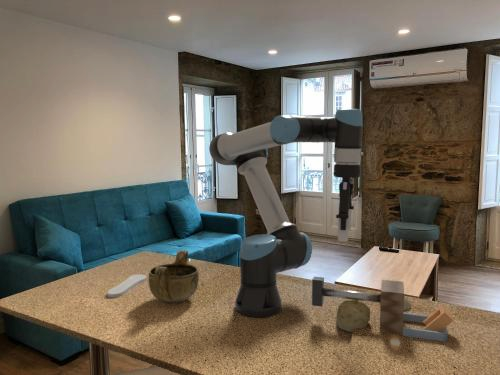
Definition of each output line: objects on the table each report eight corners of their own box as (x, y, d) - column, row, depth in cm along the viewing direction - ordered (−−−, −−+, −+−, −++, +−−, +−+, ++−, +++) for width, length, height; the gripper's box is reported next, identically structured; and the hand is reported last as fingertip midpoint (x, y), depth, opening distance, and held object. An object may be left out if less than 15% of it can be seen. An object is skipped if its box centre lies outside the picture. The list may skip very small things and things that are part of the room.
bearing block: (379, 336, 113) (380, 291, 111) (380, 321, 122) (381, 279, 121) (402, 339, 111) (404, 293, 109) (401, 324, 120) (403, 281, 119)
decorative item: (341, 343, 115) (364, 326, 110) (323, 312, 121) (344, 294, 115) (361, 336, 122) (383, 319, 116) (343, 307, 127) (363, 290, 121)
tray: (402, 340, 110) (403, 328, 110) (401, 323, 121) (402, 312, 120) (447, 346, 107) (447, 334, 106) (442, 329, 117) (443, 317, 117)
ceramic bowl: (164, 287, 152) (163, 248, 151) (207, 290, 149) (207, 250, 147) (136, 311, 130) (134, 266, 129) (186, 315, 127) (185, 269, 126)
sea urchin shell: (415, 310, 126) (397, 291, 126) (396, 326, 127) (377, 307, 128) (410, 299, 135) (393, 281, 135) (392, 314, 136) (375, 297, 137)
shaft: (311, 305, 122) (312, 279, 121) (313, 301, 125) (314, 276, 124) (387, 314, 115) (388, 287, 114) (387, 310, 118) (388, 284, 117)
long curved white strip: (149, 279, 163) (149, 275, 163) (119, 299, 142) (119, 295, 141) (133, 277, 165) (133, 273, 165) (101, 298, 143) (101, 293, 143)
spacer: (424, 329, 111) (444, 312, 109) (423, 321, 116) (442, 305, 114) (433, 337, 110) (453, 320, 108) (431, 329, 115) (450, 313, 113)
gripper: (359, 166, 104) (355, 247, 107) (361, 161, 128) (359, 227, 130) (329, 165, 106) (327, 244, 109) (337, 160, 130) (335, 225, 133)
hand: (344, 235), depth 120 cm, fingers open, 13 cm apart
